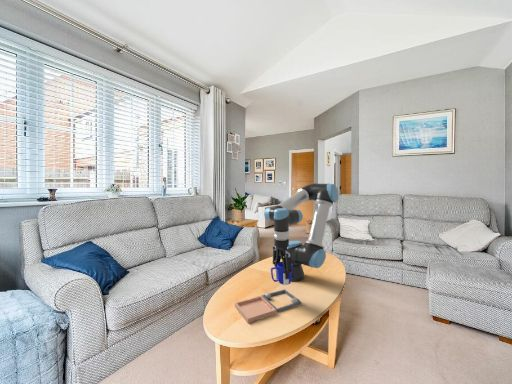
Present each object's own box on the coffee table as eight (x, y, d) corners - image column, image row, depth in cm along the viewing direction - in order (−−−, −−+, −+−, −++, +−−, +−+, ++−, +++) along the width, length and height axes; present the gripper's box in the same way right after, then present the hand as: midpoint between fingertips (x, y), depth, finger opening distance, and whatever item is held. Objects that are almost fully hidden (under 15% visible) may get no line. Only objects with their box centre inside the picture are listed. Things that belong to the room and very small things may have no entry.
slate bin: (284, 291, 131) (284, 289, 131) (301, 304, 118) (301, 301, 118) (261, 298, 124) (261, 295, 124) (276, 312, 111) (276, 309, 111)
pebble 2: (295, 301, 120) (295, 295, 120) (298, 304, 118) (298, 298, 118) (290, 302, 119) (290, 297, 119) (294, 305, 116) (294, 300, 116)
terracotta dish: (260, 299, 123) (260, 295, 123) (276, 313, 109) (276, 309, 109) (234, 306, 116) (234, 302, 116) (247, 323, 102) (247, 318, 102)
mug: (268, 282, 123) (267, 263, 122) (288, 278, 127) (287, 260, 126) (274, 289, 115) (274, 269, 114) (295, 284, 119) (295, 265, 119)
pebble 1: (268, 296, 125) (268, 291, 125) (271, 299, 123) (271, 293, 123) (264, 298, 124) (264, 292, 124) (267, 300, 121) (267, 295, 121)
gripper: (265, 235, 126) (266, 275, 128) (286, 244, 108) (287, 291, 110) (277, 233, 129) (277, 272, 131) (299, 242, 112) (299, 287, 114)
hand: (281, 281), depth 121 cm, fingers closed on mug, 7 cm apart
